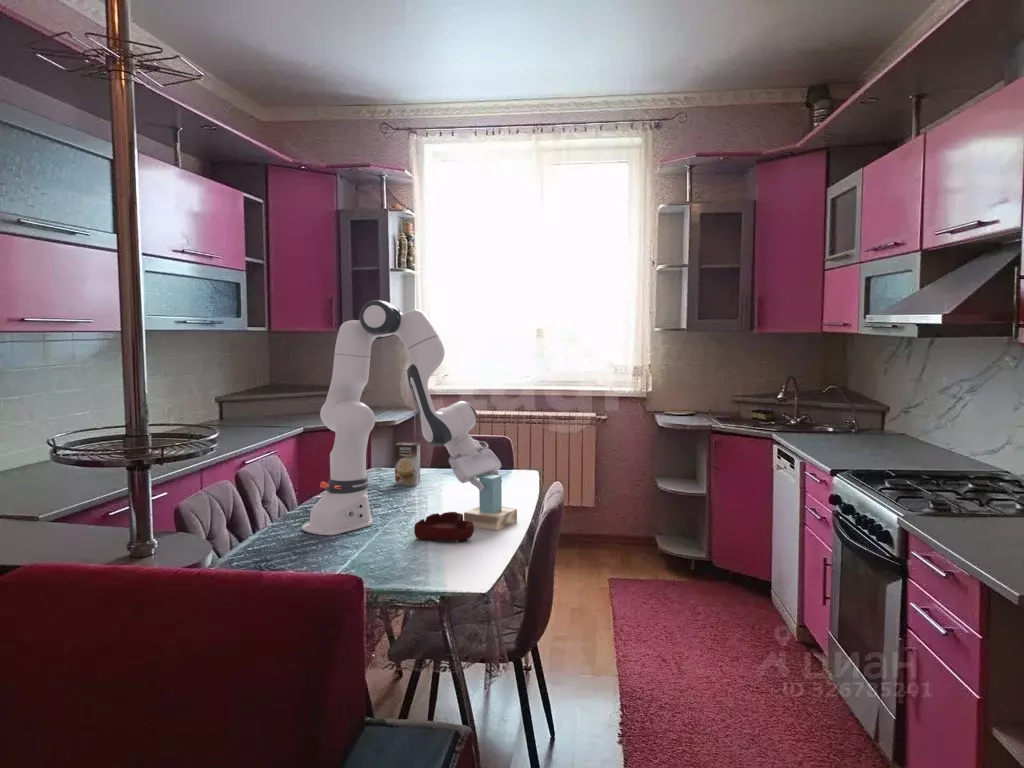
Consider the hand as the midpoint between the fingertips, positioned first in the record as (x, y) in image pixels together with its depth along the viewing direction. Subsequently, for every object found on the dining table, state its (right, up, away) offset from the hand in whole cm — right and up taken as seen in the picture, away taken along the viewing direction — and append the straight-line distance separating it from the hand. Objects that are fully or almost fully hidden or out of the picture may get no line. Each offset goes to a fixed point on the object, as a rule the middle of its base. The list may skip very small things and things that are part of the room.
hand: (491, 486), depth 215 cm
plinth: (0, -12, +1) cm, 12 cm away
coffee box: (-35, -8, +56) cm, 67 cm away
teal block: (0, -8, +1) cm, 8 cm away
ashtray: (-14, -14, -12) cm, 23 cm away
